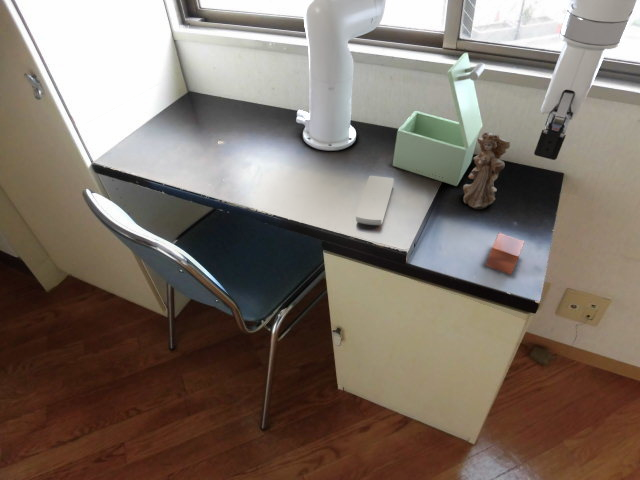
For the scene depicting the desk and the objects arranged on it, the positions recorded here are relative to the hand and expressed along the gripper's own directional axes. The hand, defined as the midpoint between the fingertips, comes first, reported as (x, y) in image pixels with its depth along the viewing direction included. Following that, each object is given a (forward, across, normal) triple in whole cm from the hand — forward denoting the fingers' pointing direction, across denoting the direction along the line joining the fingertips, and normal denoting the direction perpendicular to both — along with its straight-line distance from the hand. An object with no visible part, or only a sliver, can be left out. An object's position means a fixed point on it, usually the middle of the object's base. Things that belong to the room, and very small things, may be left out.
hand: (550, 141), depth 74 cm
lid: (+4, -15, -17) cm, 23 cm away
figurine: (+20, -8, -9) cm, 23 cm away
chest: (+20, -15, -21) cm, 33 cm away
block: (+20, +8, -1) cm, 22 cm away
